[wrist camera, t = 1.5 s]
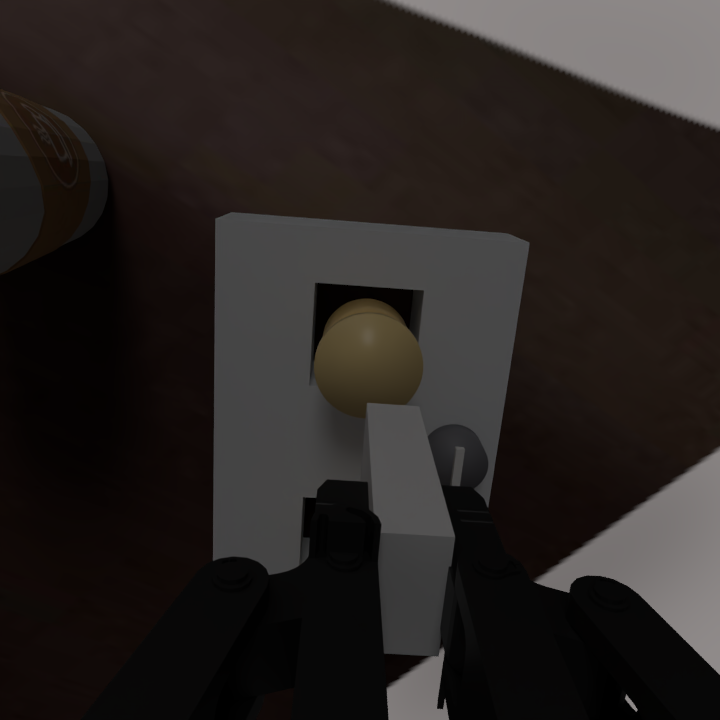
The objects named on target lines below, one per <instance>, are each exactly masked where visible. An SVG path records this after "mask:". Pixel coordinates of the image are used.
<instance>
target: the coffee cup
mask: <svg viewBox="0 0 720 720" xmlns="http://www.w3.org/2000/svg"><path fill="white" fill-rule="evenodd" d="M107 197H108V176H107V172H106V167H105V162H104V160H103V158H102V156H101V154H100V152H99V150H98V148H97V146H96V144H95V143H94V141H93V140H92V139H91V138H90V136H89V135H88V134H87V132H86V131H85V130H84V129H83V128H82V127H81V126H79V125H78V124H77V123H76V122H74V121H73V120H72V119H70V118H69V117H68V116H65V115H63V114H61V113H59V112H57V111H54V110H52V109H50V108H47V107H44V106H41V105H39V104H36V103H34V102H32V101H30V100H27V99H25V98H23V97H21V96H18V95H15V94H13V93H10V92H7V91H4V90H1V89H0V275H3V274H5V273H8V272H10V271H12V270H14V269H16V268H18V267H21V266H23V265H25V264H27V263H29V262H31V261H33V260H36V259H38V258H40V257H42V256H44V255H46V254H48V253H51V252H53V251H55V250H56V249H58V248H59V247H60V246H62V245H64V244H66V243H68V242H71V241H73V240H75V239H77V238H79V237H81V236H82V235H84V234H85V233H86V232H87V231H89V230H90V229H91V228H92V227H93V226H94V225H95V223H96V222H97V220H98V219H99V218H100V216H101V215H102V213H103V210H104V207H105V204H106V201H107Z"/></svg>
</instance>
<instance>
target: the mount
mask: <svg viewBox="0 0 720 720" xmlns="http://www.w3.org/2000/svg"><path fill="white" fill-rule="evenodd" d="M528 250H529V242H527V241H524V240H522V239H519V238H517V237H515V236H512V235H510V234H507V233H495V232H482V231H469V230H456V229H443V228H430V227H417V226H404V225H390V224H377V223H364V222H351V221H338V220H325V219H312V218H299V217H286V216H273V215H260V214H247V213H234V212H231V213H229V214H226V215H224V216H221V217H219V218H217V219H216V231H215V366H214V501H213V561H214V560H217V559H219V558H226V557H232V556H235V557H246V558H249V559H252V560H255V561H258V562H259V563H260V564H262V565H263V566H264V567H265V568H266V569H267V571H268V574H269V575H271V574H277V573H282V572H286V571H289V570H291V569H294V568H296V567H298V566H299V565H301V564H302V563H303V562H304V561H305V560H306V559H307V558H308V556H309V541H310V538H304V537H303V532H304V515H305V497H309V498H316V496H317V489H318V488H319V487H320V486H321V485H322V484H323V483H324V482H325V481H326V480H327V479H330V480H346V481H360V478H361V466H362V454H363V443H364V431H365V420H366V418H357V417H353V416H350V415H347V414H344V413H343V412H341V411H339V410H337V409H336V408H335V407H333V406H332V405H331V404H330V403H329V402H328V401H327V400H326V399H325V398H324V396H323V395H322V393H321V392H320V390H319V388H318V385H317V383H316V379H315V374H314V361H313V357H314V340H315V322H316V305H317V287H318V283H327V284H341V285H355V286H369V287H383V288H397V289H411V290H413V298H412V308H411V317H410V327H409V330H410V331H411V332H412V334H413V335H414V337H415V338H416V340H417V342H418V344H419V347H420V349H421V353H422V357H423V375H422V379H421V382H420V385H419V387H418V389H417V391H416V393H415V394H414V396H413V397H412V398H411V400H410V401H409V402H408V403H407V404H406V405H407V406H419V408H420V412H421V415H422V419H423V422H424V426H425V430H426V433H427V437H428V441H429V444H430V448H431V451H432V455H433V459H434V462H435V466H436V469H437V473H438V477H439V480H440V484H441V485H448V486H464V487H472V488H473V489H474V490H475V491H476V492H478V493H479V494H480V495H481V496H482V497H483V498H484V500H485V502H486V505H487V507H488V505H489V498H490V492H491V486H492V479H493V473H494V467H495V460H496V454H497V447H498V441H499V435H500V428H501V422H502V416H503V409H504V403H505V396H506V390H507V384H508V377H509V371H510V365H511V358H512V352H513V345H514V339H515V333H516V326H517V320H518V314H519V307H520V301H521V294H522V288H523V282H524V275H525V269H526V263H527V256H528Z"/></svg>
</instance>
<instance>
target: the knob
mask: <svg viewBox="0 0 720 720" xmlns="http://www.w3.org/2000/svg"><path fill="white" fill-rule="evenodd" d="M314 374H315V379H316V383H317V385H318V388H319V390H320V392H321V393H322V395H323V396H324V398H325V399H326V400H327V401H328V402H329V403H330V404H331V405H332V406H333V407H335V408H336V409H337V410H339V411H341V412H343V413H344V414H347V415H350V416H353V417H357V418H366V408H367V403H377V404H392V405H406V404H407V403H408V402H409V401H410V400H411V398H412V397H413V396H414V394H415V393H416V391H417V389H418V387H419V385H420V382H421V379H422V375H423V357H422V353H421V349H420V347H419V344H418V342H417V340H416V338H415V337H414V335H413V334H412V332H411V331H410V330H409V329H408V328H407V327H406V324H405V322H404V320H403V318H402V317H401V316H400V314H399V313H398V312H397V311H396V310H395V309H394V308H392V307H391V306H390V305H388V304H386V303H384V302H382V301H379V300H375V299H357V300H353V301H350V302H348V303H346V304H344V305H342V306H341V307H339V308H338V309H337V310H336V311H335V312H334V313H333V314H332V315H331V316H330V318H329V319H328V321H327V323H326V325H325V328H324V332H323V337H322V339H321V341H320V342H319V345H318V347H317V350H316V354H315V361H314Z"/></svg>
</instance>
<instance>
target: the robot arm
mask: <svg viewBox="0 0 720 720" xmlns="http://www.w3.org/2000/svg"><path fill="white" fill-rule="evenodd" d="M441 635H442V640H443V646H444V651H445V654H444V661H443V668H442V675H441V683H440V689H439V697H438V706H437V709H443V705H444V699H445V698H446V703H447V709H448V716H449V720H720V675H719V674H718V673H717V672H716V671H715V670H714V669H713V668H712V667H711V666H710V665H709V664H708V663H707V662H706V661H705V660H704V659H703V658H702V657H701V656H700V655H699V654H698V653H697V652H696V651H695V650H694V649H693V648H692V647H691V646H690V645H689V644H688V643H687V642H686V641H685V640H684V639H683V638H682V637H681V636H680V635H679V634H678V633H677V632H676V631H675V630H674V629H673V628H672V627H671V626H670V625H669V624H668V623H667V622H666V621H665V620H664V619H663V618H662V617H661V616H660V615H659V614H658V613H657V612H656V611H655V610H654V609H653V608H652V607H651V606H650V605H649V604H648V603H647V602H646V601H645V600H644V599H643V598H642V597H641V596H640V595H639V594H637V593H636V592H635V591H633V590H632V589H631V588H629V587H628V586H626V585H624V584H622V583H620V582H618V581H616V580H614V579H610V578H606V577H602V576H584V577H580V578H577V579H576V580H575V581H574V582H573V583H572V584H571V587H570V592H569V593H567V592H563V591H560V590H556V589H552V588H549V587H545V586H542V585H540V584H537V583H535V582H533V581H531V580H530V578H529V576H528V574H527V571H526V570H525V568H524V567H523V565H522V564H521V563H520V562H519V561H518V560H516V559H515V558H513V557H512V556H511V555H508V554H506V553H505V550H504V548H503V545H502V542H501V540H500V537H499V535H498V532H497V530H496V527H495V525H494V523H493V520H492V517H491V515H490V513H489V510H488V507H487V505H486V502H485V500H484V498H483V497H482V496H481V495H480V494H479V493H478V492H476V491H475V490H474V489H473V488H472V487H464V486H448V485H441V484H440V480H439V477H438V473H437V469H436V466H435V462H434V459H433V455H432V451H431V448H430V444H429V441H428V437H427V433H426V430H425V426H424V422H423V419H422V415H421V412H420V408H419V406H407V405H392V404H377V403H367V408H366V420H365V431H364V443H363V454H362V466H361V478H360V481H346V480H330V479H327V480H326V481H325V482H324V483H323V484H322V485H321V486H320V487H319V488H318V489H317V496H316V505H315V513H314V514H313V516H312V519H311V525H310V541H309V556H308V558H307V559H306V560H305V561H304V562H303V563H302V564H301V565H299V566H298V567H296V568H294V569H291V570H289V571H286V572H282V573H277V574H271V575H269V574H268V571H267V569H266V568H265V567H264V566H263V565H262V564H260V563H259V562H258V561H255V560H252V559H249V558H246V557H235V556H232V557H226V558H219V559H217V560H214V561H212V562H210V563H207V564H206V565H205V566H204V567H202V568H201V569H200V570H199V571H198V572H197V573H196V574H195V576H194V577H193V578H192V579H191V581H190V582H189V583H188V584H187V586H186V587H185V588H184V590H183V591H182V592H181V593H180V595H179V596H178V597H177V598H176V600H175V601H174V602H173V603H172V605H171V606H170V607H169V609H168V610H167V611H166V612H165V614H164V615H163V616H162V617H161V619H160V620H159V621H158V622H157V624H156V625H155V626H154V627H153V629H152V630H151V631H150V633H149V634H148V635H147V636H146V638H145V639H144V640H143V641H142V643H141V644H140V645H139V646H138V648H137V649H136V650H135V652H134V653H133V654H132V655H131V657H130V658H129V659H128V660H127V662H126V663H125V664H124V665H123V667H122V668H121V669H120V671H119V672H118V673H117V674H116V676H115V677H114V678H113V679H112V681H111V682H110V683H109V684H108V686H107V687H106V688H105V690H104V691H103V692H102V693H101V695H100V696H99V697H98V698H97V700H96V701H95V702H94V703H93V705H92V706H91V707H90V708H89V710H88V711H87V712H86V714H85V715H84V716H83V717H82V719H81V720H256V718H257V715H258V713H259V711H260V709H261V707H262V705H263V700H264V696H265V694H268V693H272V692H276V691H280V690H285V689H289V688H293V687H294V696H293V706H292V715H291V720H388V706H387V690H386V675H385V661H384V653H386V654H404V655H423V656H438V655H439V649H440V642H441ZM626 694H627V695H628V697H629V698H630V699H631V700H632V702H633V703H634V704H635V706H636V708H637V709H638V711H637V712H636V711H635V710H634V709H633V708H632V707H631V706H630V705H629V704H628V703H627V701H626V700H625V696H626Z"/></svg>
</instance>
